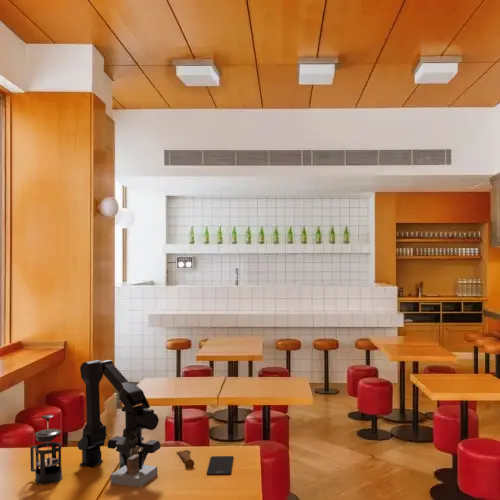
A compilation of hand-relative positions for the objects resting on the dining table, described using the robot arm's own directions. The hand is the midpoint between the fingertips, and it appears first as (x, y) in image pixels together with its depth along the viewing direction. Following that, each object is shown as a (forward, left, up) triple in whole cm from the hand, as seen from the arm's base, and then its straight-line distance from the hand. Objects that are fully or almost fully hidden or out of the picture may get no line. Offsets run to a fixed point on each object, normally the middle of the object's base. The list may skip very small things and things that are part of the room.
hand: (134, 468), depth 208 cm
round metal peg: (-10, +10, -4) cm, 15 cm away
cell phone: (+25, +21, -4) cm, 33 cm away
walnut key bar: (0, -1, -4) cm, 4 cm away
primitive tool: (+9, +23, -4) cm, 25 cm away
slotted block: (0, 0, -4) cm, 4 cm away
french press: (-30, -10, -4) cm, 32 cm away
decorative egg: (-14, +21, -4) cm, 25 cm away
